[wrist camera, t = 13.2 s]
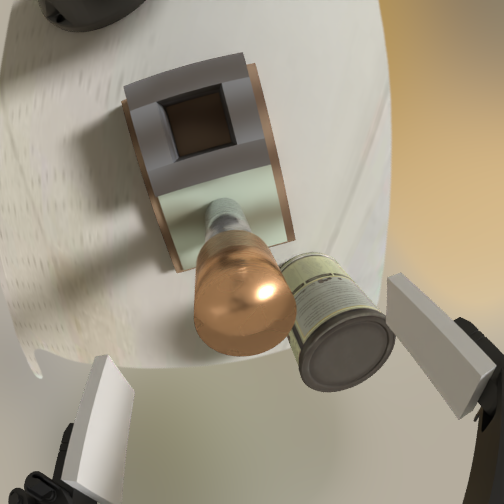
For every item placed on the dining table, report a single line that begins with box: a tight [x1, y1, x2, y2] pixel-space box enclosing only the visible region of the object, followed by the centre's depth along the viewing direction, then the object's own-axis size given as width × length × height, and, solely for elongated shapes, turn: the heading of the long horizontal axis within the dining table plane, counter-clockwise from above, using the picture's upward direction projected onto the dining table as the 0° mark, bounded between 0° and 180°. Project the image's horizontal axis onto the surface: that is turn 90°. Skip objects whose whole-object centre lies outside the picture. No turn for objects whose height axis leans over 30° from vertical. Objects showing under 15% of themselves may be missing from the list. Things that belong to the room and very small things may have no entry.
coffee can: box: [280, 252, 396, 392], centre depth 33 cm, size 10×10×14 cm
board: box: [121, 52, 295, 273], centre depth 27 cm, size 20×14×8 cm
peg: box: [194, 198, 297, 356], centre depth 23 cm, size 5×5×18 cm
